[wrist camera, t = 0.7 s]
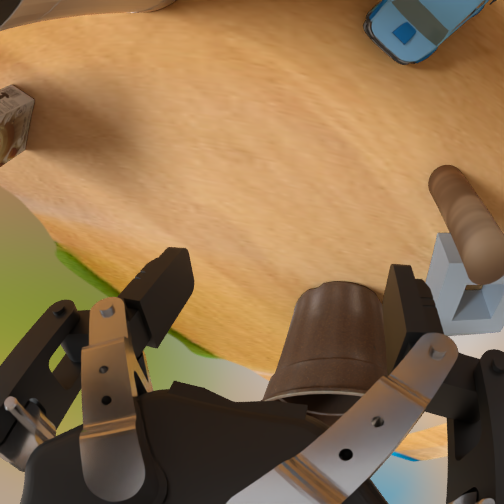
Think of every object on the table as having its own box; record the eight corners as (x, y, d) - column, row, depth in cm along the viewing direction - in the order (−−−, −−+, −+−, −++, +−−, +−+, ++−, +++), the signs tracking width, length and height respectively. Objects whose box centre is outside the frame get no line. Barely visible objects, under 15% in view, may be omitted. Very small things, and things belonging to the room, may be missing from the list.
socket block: (437, 232, 29) (449, 263, 25) (519, 235, 26) (536, 262, 22) (418, 306, 36) (423, 336, 33) (490, 304, 33) (500, 331, 29)
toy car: (352, 25, 19) (359, 21, 15) (433, -49, 11) (456, -64, 7) (403, 72, 20) (422, 81, 16) (481, 0, 13) (512, -3, 9)
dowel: (430, 163, 25) (475, 240, 16) (465, 166, 24) (520, 241, 15) (426, 200, 27) (460, 285, 18) (459, 201, 26) (502, 284, 17)
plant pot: (278, 260, 37) (248, 384, 25) (411, 271, 33) (430, 396, 21) (280, 339, 47) (258, 435, 35) (381, 347, 43) (380, 445, 31)
